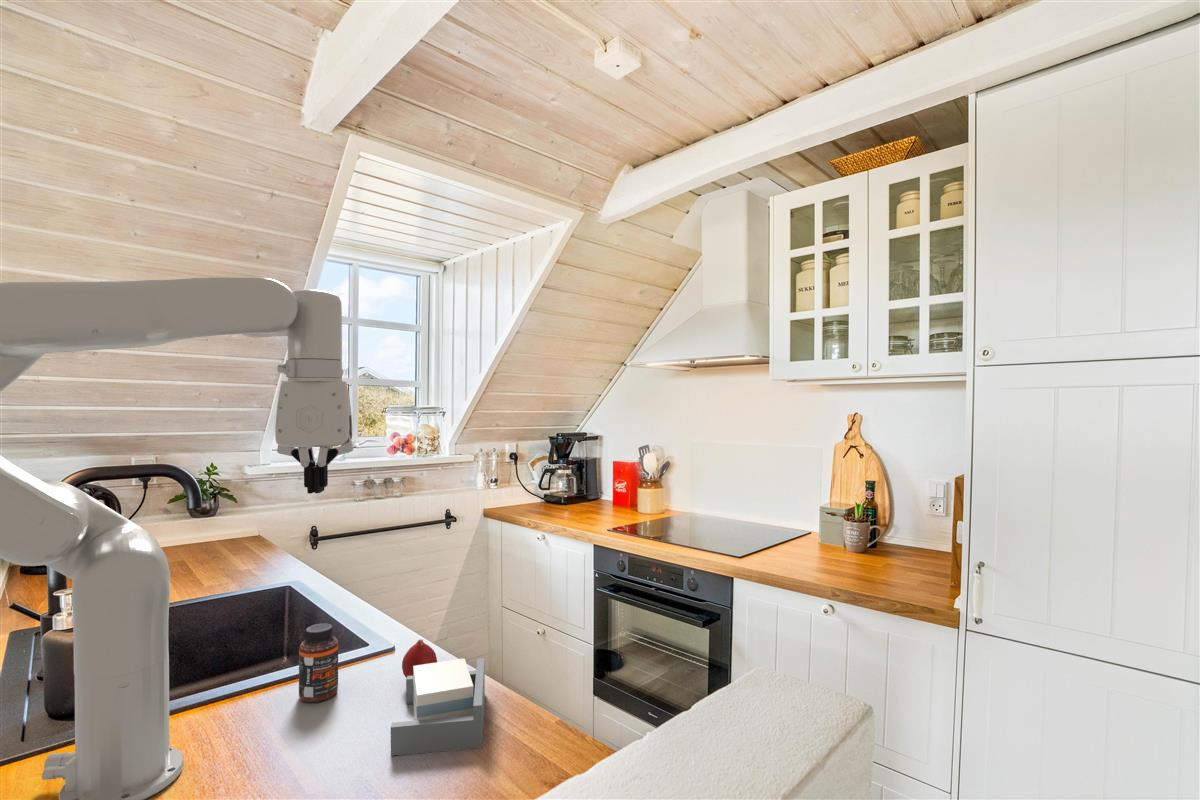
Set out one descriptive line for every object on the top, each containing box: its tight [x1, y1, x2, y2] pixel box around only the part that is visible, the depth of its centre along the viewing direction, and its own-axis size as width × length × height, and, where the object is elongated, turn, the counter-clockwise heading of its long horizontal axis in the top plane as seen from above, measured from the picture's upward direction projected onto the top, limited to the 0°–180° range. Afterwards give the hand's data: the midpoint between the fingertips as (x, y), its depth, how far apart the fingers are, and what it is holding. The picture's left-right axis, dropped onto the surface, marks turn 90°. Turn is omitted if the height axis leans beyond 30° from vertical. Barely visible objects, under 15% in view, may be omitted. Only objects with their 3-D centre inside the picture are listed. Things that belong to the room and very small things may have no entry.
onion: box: [401, 638, 438, 679], centre depth 104 cm, size 6×6×8 cm
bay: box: [390, 657, 486, 757], centre depth 92 cm, size 12×15×6 cm
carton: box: [413, 657, 474, 721], centre depth 92 cm, size 8×10×7 cm
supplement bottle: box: [298, 623, 339, 703], centre depth 100 cm, size 6×6×11 cm
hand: (316, 491), depth 92 cm, fingers closed
